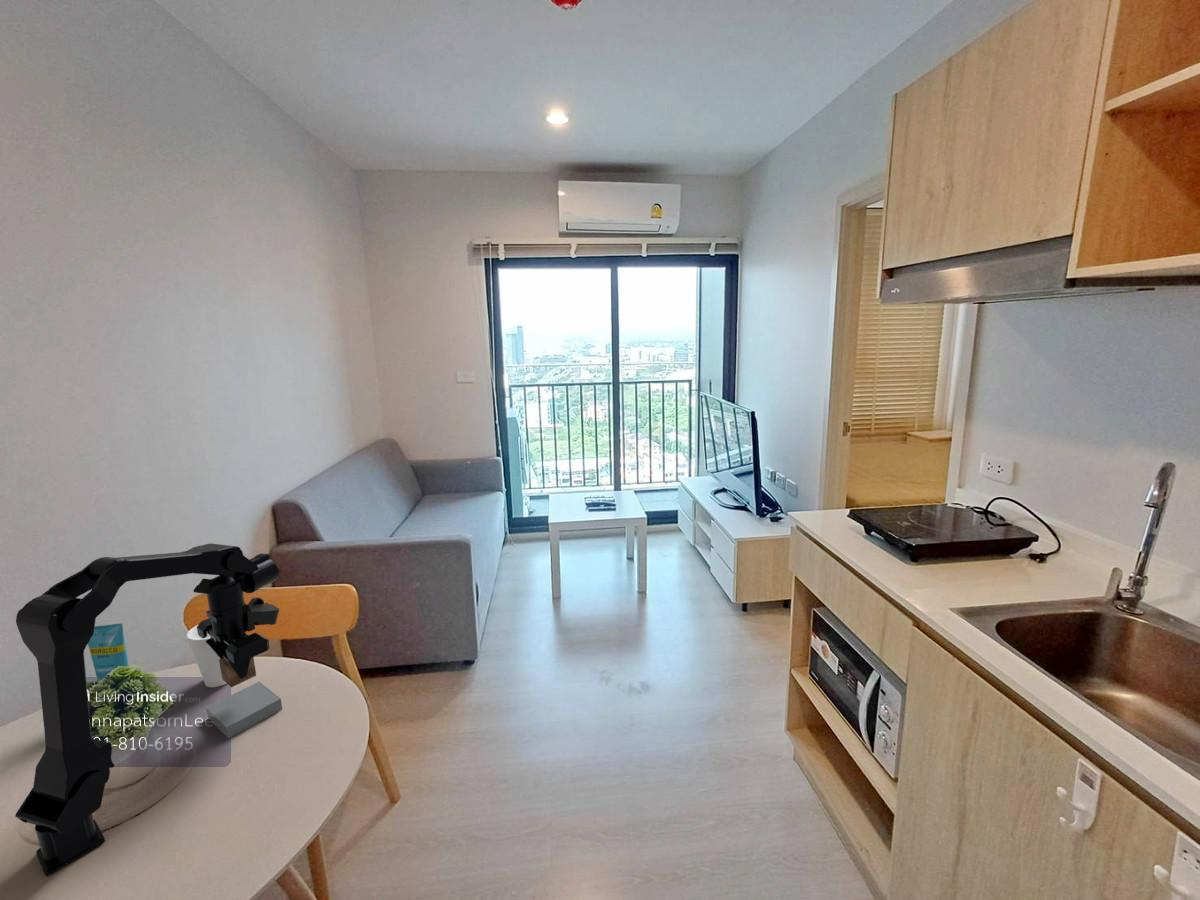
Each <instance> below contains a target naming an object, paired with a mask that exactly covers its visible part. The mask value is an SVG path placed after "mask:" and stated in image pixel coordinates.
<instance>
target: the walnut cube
mask: <svg viewBox="0 0 1200 900" xmlns="http://www.w3.org/2000/svg"><path fill="white" fill-rule="evenodd" d="M219 664H220V670H221V675H222V680H223V681H225V682H226V683H227V684H226V685H228V686H229V687H230V688H234V687H235V686H237V685H240V684H241V683H243V682H247V681H248V680H250V679H253V678H254V677H256V676H257V671H256V666H255V658H254V657H252V658H251V660H250V664H249V668H248V673H247V676H246V677H244V678H242V679H241V678H239V676H238V675H237V674H236V673H235V671H234V670H233V669H232V667H231V666H230V665H229V663H228V662H227V661H226V660H225V658H222V659H220V660H219Z"/></svg>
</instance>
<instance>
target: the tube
mask: <svg viewBox="0 0 1200 900" xmlns="http://www.w3.org/2000/svg"><path fill="white" fill-rule="evenodd" d="M87 647H88V651H89V653H90V658H91V661H92V664H93V668H94V672H95V676H96V680H97V682H98V681H100V680H102V679H103V678H104V677H105V676H106V675H107V674H108V673H110V672H111V671H112V670H114V669H115V668H117V667H118V666H129V667H130V664H129V659H128V653H127V648H126V642H125V633H124V625H123V623H122V622H120V623H110V624H103V625H95V628H94V634H93V636H92V637H91V639H90V641H89V642H88V644H87Z"/></svg>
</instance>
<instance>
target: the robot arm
mask: <svg viewBox="0 0 1200 900" xmlns="http://www.w3.org/2000/svg"><path fill="white" fill-rule="evenodd" d="M243 552H244V551H243V550H242V548H241V547H239V546H236V545H227V544H220V543H211V542H210V543H206V544H203V545H198V546H195V547H194V546H193V547H191V548H190V549H188V550H185V551H180V552H169V553H157V554H144V555H133V556H132V555H131V556H120V557H119V556H118V557H117V556H116V557H113V556H111V557H110V556H104V557H103V556H102V557H99V558H96V559H95V560H93V561H90V563H88V565H86V566H85V567H84V568H82V569H81V570H80V571H78V572H76V573H74V574H72V575H70V576H68V577H66V578H65V579H62V580H60V581H59V582H56V583H54V584H53V585H52V586H51V587H49V588H48V589H47V590H46V591H45V592H43V593H42V594H40V595H38V596H37V597H35V598H32V599H31V600H28V602H26V604H24V606H23V607H22V608H21V609H20V608H19V610H18V611H17V614H16V617H15V618H16V619H15V624H16V627H17V630H18V632H19V634H20V637H21V639H22V642H23V643H24V645H25V646H26V647H27V649H28V650H29V651H30V652H31V654H32V655H33V656H34V657H35V659H36V662H37V670H38V680H39V687H40V689H39V690H40V698H41V710H42V718H43V719H42V720H43V730H44V739H45V740H44V741H45V750H44V752H43V754H42V756H41V757H40V759H39V761H38V763H37V764H36V766H35V770H34V771H35V772H34V773H35V774H34V778H33V779H34V780H33V787H32V789H30V791H29V793H28V795H27V796H26V798H24V801H23V802H22V804H21V805H20V807H19V808H18V810H17V811H16V813H15V815H14V816H15V818H16V819H18V820H20V821H21V822H23V823H26V824H27V823H28V824H32V825H35V826H34V830H35V835H36V837H37V840H38V844H39V847H40V848H38V849H37V850H36V851H35V854H36V857H37V858H38V861H39V864H40V866H41V868H42V871H43V874H44V876H45V877H47V876H50V875H52V874H53V873H55V872H57V871H59V870H60V869H62V868H64V867H65V866H68V865H70V864H71V863H72V862H74V861H76V860H77V859H79V858H81V857H82V856H84V855H86V854H88V853H89V852H90V851H92V850H94V849H96V848H97V847H100V846H101V845H102V844H104V843H105V842H106V839H105V838H106V837H105V836H104V834H103V832H102V830H101V828H100V827H99V825H98V823H97V821H96V820H95V818H94V816H93V813H95V812H97V811H98V810H99V809H101V807H102V802H103V797H104V796H103V795H104V791H105V786H106V784H108V782H109V779H110V777H111V776H110V774H111V769H112V768H115V766H116V765H115V764H114V762H113V760H112V752H113V747H112V743H111V742H109V741H104V740H100V739H95V738H93V737H92V730H91V719H90V718H91V717H90V707H89V698H88V696H89V695H88V686H87V685H88V683H87V674H86V671H87V670H86V663H85V649H86V648H87V647H88V642H89V641H90V639H91V637H92V636H93V634H94V628H95V626H96V618H97V617H98V616H100V615H101V614H102V613H103V612H104V611H105V610H107V608H108V607H110V605H112V602H113V601H114V599H115V597H116V596H117V593H118V591H119V590H120V588H121V587H122V586H123V585H125V584H126V582H132V581H133V582H135V581H141V580H149V579H157V578H165V577H172V576H173V577H175V576H180V575H181V576H182V575H189V574H198V575H210V576H211V575H212V576H215V577H213V578H211V579H210V578H202V579H201V581H200V582H199V583H198V584H197V585H196V586H195V587H194V589H193V593H197V594H204V595H206V597H207V603H208V608H209V609H208V610H207V611H206V612H205V613H206V617H207V618H206V619H203V620H201V621H200V622H199V623H198V624H197V625H198V626H197V625H196V626H197V631H198V635H199V636H200V637H201V638H203V639H204V638H206V637H207V633H208V634H209V635H210V639H208V640H206V643H207V644H208V645H209V646H210V648H211V649H212V650H213V651H214V652H215V653H216V654H217V656H218V657H219V658H220V659H222V658H225V660H226V661H227V662H228V663H229V665H230V666H231V667H232V669H233V670H234V671H235V673H236V674H237V675H238V676H239V678H241V679H242V678H244V677H246V676H247V673H248V668H249V664H250V660H251V658H252V657H253V658H254V657H257V656H259V655H261V654H263V653H265V652H268V651H269V650H270V648H271V646H270V640H269V638H267V637H265V636H264V635H263V634H260V633H259V632H254V633H253V632H252V633H251V634H249V635H248V634H247V632H249V633H250V632H251V631H254V630H256V626H266V625H270V626H274V625H276V624H277V620H278V617H279V612H280V608H278V607H277V606H275V605H274V604H272V603H268V602H265V601H264V599H263V598H261V597H252V598H250V600H249V602H248V603H247V604H246V603H245V596H244V594H245V593H246V594H252V593H255V592H257V591H258V590H260V589H262V588H265V587H266V586H268V585H270V584H272V583H274V582H275V581H277V580H278V579H279V576H280V569H279V567H278V566H277V564H276V563H275V562H274V561H273V560H272V559H271V558H270V555H269V553H263V552H262V553H261V552H260V553H259V554H256V555H254V556H253V557H252V558H248V557H247V556H246V555H244V553H243ZM87 592H88V593H87ZM86 593H87V594H86ZM83 594H85V596H83V597H82V598H80V597H81V595H83ZM78 597H79V598H78Z"/></svg>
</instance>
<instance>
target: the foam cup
mask: <svg viewBox="0 0 1200 900" xmlns="http://www.w3.org/2000/svg"><path fill="white" fill-rule="evenodd" d="M198 625H199V624H197V625H195V626H194V627H192V628H190V629H189V631H188V632H187V633H186V638H187V642H188V646H189V648H190V649H191V651H192V653H193V656H194V659H195V661H196V664H197V666H198V669H199V672H200V674H201V677H202V680H203V683H204V685H205V687H208V688H218V687H221V686H225V685H228V684H227V683H226V682H225V681H223V680H222V675H221V670H220V664H219V660H220V658H219V657H218V656H217V654H216V653H215V652H214V651H213V650H212V649H211V648H210V646H209V645H208V644H207V643H206V640H208V639H210V635H209V634H208V633H207V637H206V638H204V639H203V638H201V637H200V636H199V635H198V631H197V626H198Z"/></svg>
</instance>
